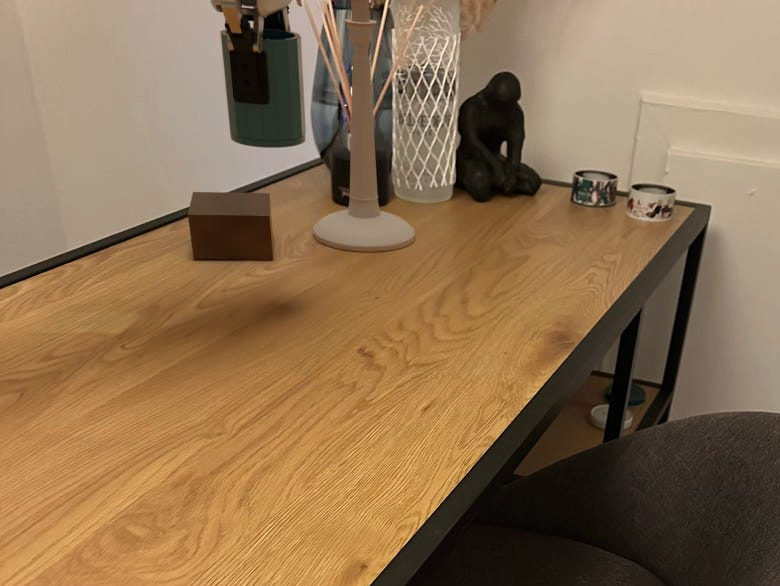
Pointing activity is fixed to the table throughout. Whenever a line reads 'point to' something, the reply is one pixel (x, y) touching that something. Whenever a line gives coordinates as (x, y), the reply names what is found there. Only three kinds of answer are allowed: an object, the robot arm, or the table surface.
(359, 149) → the candlestick
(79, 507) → the table surface
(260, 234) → the block
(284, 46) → the cup
